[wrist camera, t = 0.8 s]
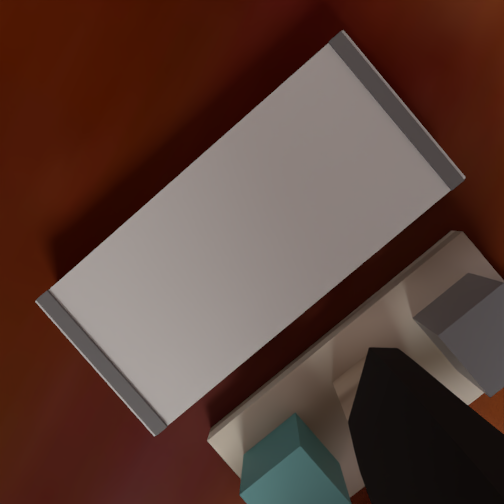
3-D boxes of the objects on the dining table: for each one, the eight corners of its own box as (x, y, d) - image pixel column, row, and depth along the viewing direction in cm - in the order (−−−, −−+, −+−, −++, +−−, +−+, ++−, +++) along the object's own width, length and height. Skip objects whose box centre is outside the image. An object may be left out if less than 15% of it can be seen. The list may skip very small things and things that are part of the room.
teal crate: (339, 463, 27) (351, 505, 23) (287, 504, 28) (290, 553, 24) (295, 412, 27) (300, 445, 23) (243, 454, 27) (239, 494, 23)
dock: (444, 181, 27) (467, 177, 24) (165, 413, 29) (153, 438, 26) (334, 50, 27) (343, 28, 24) (59, 292, 29) (33, 302, 26)
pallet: (532, 330, 28) (619, 367, 21) (293, 518, 30) (300, 611, 23) (448, 230, 28) (508, 234, 21) (211, 425, 29) (193, 490, 22)
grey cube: (513, 326, 26) (556, 345, 22) (457, 370, 27) (490, 397, 23) (468, 272, 26) (504, 282, 22) (412, 317, 26) (437, 335, 22)
